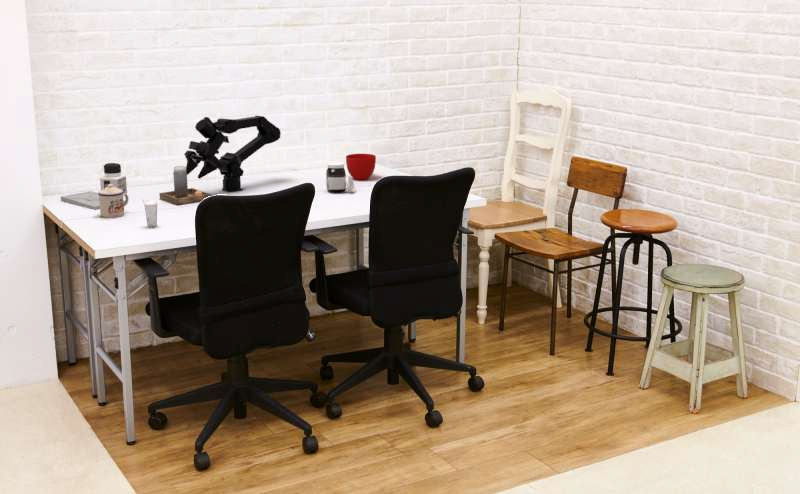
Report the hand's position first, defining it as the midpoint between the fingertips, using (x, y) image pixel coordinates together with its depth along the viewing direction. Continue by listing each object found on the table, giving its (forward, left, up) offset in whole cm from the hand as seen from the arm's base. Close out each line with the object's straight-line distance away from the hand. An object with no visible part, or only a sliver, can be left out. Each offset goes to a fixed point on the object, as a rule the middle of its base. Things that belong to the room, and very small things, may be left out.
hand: (191, 176), depth 413 cm
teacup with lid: (+36, +8, -9) cm, 38 cm away
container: (+22, -24, -9) cm, 34 cm away
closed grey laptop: (+35, -17, -9) cm, 40 cm away
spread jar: (-53, +29, -9) cm, 60 cm away
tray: (+4, +2, -9) cm, 10 cm away
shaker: (+5, +1, -8) cm, 10 cm away
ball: (0, +6, -8) cm, 10 cm away
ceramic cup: (-77, +12, -9) cm, 78 cm away
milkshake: (+34, +33, -9) cm, 48 cm away
